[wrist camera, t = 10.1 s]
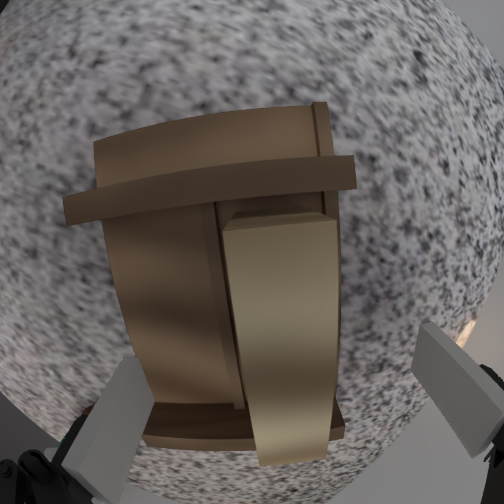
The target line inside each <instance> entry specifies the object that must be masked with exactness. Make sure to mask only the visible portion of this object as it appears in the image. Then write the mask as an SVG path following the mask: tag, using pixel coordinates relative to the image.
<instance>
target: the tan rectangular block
mask: <svg viewBox="0 0 504 504" xmlns="http://www.w3.org/2000/svg"><path fill="white" fill-rule="evenodd" d="M222 232H223V240H224V248H225V255H226V263H227V270H228V277H229V284H230V292H231V299H232V305H233V312H234V319H235V326H236V332H237V339H238V345H239V351H240V358H241V364H242V370H243V376H244V382H245V388H246V394H247V400H248V405H249V411H250V417H251V422H252V428H253V433H254V438H255V444H256V449H257V454H258V460H259V465H260V466H273V465H284V464H292V463H300V462H307V461H314V460H320V459H325V458H326V455H327V448H328V441H329V433H330V426H331V417H332V408H333V398H334V386H335V373H336V358H337V337H338V243H337V222H336V220H335V219H333V218H330V217H328V216H326V215H324V214H321V213H319V212H317V211H314V210H312V209H310V208H307V207H305V206H290V207H279V208H269V209H259V210H250V211H240V212H235V213H234V215H233V216H232V218H231V219H230V221H229V222H228V224H227V225H226V227H225V228H224V230H223V231H222Z"/></svg>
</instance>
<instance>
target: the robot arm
mask: <svg viewBox="0 0 504 504" xmlns="http://www.w3.org/2000/svg"><path fill="white" fill-rule="evenodd" d="M7 1H8V0H0V12H1V11H2V9H3V8H4V6H5V5H6V3H7ZM410 370H411V371H412V373H413V374H414V375H415V377H416V378H417V379H418V381H419V382H420V383H421V385H422V386H423V388H424V389H425V390H426V392H427V393H428V394H429V396H430V397H431V399H432V400H433V401H434V403H435V404H436V406H437V407H438V408H439V410H440V411H441V413H442V414H443V416H444V417H445V419H446V420H447V422H448V423H449V425H450V426H451V427H452V429H453V430H454V432H455V433H456V435H457V437H458V438H459V440H460V441H461V443H462V444H463V446H464V447H465V449H466V450H467V452H468V454H469V455H470V457H471V458H472V459H473V458H474V457H476V456H478V455H479V454H480V453H482V452H484V451H485V450H486V449H487V447H488V446H489V444H490V443H491V442H492V443H493V444H494V447H493V448H492V449H491V450H490V452H489V453H488V454H487V456H486V457H485V458H484V462H485V461H486V460H487V459H488V458H489V457H490V455H491V457H490V460H489V462H490V464H489V470H488V475H487V479H486V484H485V488H484V492H483V496H482V500H481V504H504V382H503V380H502V379H501V378H500V377H498V375H497V374H496V373H495V372H494V371H493V370H492V369H491V368H489V367H487V366H485V365H483V364H481V365H478V364H477V363H475V361H474V360H473V359H472V358H471V357H470V356H469V355H468V354H467V353H466V352H464V351H463V350H462V349H461V348H460V347H459V346H458V345H457V344H456V343H455V342H454V341H453V340H452V339H451V338H450V337H448V336H447V335H446V334H445V333H444V332H443V331H442V330H441V329H440V328H439V327H437V326H436V325H435V324H434V323H433V322H429V323H425V324H422V325H420V328H419V333H418V338H417V343H416V348H415V352H414V356H413V361H412V365H411V369H410ZM154 402H155V398H154V396H153V394H152V391H151V389H150V387H149V384H148V382H147V379H146V377H145V374H144V371H143V369H142V366H141V364H140V361H139V358H130V357H124V358H123V360H122V362H121V363H120V365H119V366H118V368H117V369H116V371H115V373H114V374H113V376H112V378H111V379H110V381H109V382H108V384H107V386H106V387H105V389H104V391H103V392H102V394H101V395H100V397H99V399H98V400H97V402H96V404H95V406H94V407H93V409H92V411H91V412H90V414H89V415H86V414H82V415H81V416H80V417H79V418H77V419H76V420H75V421H74V423H73V424H72V426H71V428H70V429H69V430H70V431H68V433H67V434H66V436H65V437H66V438H64V439H63V441H62V443H61V445H60V446H59V448H58V450H57V451H56V453H55V455H54V457H53V458H52V460H51V462H50V461H49V460H48V459H47V458H46V457H45V456H44V455H43V454H42V453H41V452H40V451H38V450H28V451H26V452H24V453H23V454H22V455H21V456H20V458H19V460H18V466H17V465H16V463H14V462H13V461H12V460H9V459H5V460H2V461H0V504H24V503H25V504H93V503H92V501H91V499H92V497H95V498H96V499H97V500H98V501H99V502H101V503H104V504H118V503H119V500H120V497H121V494H122V491H123V488H124V485H125V482H126V479H127V476H128V473H129V470H130V468H131V465H132V462H133V459H134V456H135V453H136V451H137V448H138V445H139V442H140V440H141V437H142V434H143V431H144V429H145V426H146V423H147V421H148V418H149V415H150V413H151V410H152V407H153V405H154Z"/></svg>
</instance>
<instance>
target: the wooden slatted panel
mask: <svg viewBox="0 0 504 504" xmlns="http://www.w3.org/2000/svg"><path fill="white" fill-rule="evenodd" d="M93 143H94V159H95V172H96V182H97V188H96V189H92V190H88V191H85V192H81V193H77V194H73V195H70V196H66V197H63V205H64V213H65V219H66V226H71V225H76V224H80V223H85V222H90V221H96V220H102V226H103V232H104V238H105V243H106V248H107V253H108V258H109V263H110V268H111V272H112V276H113V280H114V285H115V289H116V293H117V296H118V300H119V304H120V307H121V311H122V314H123V318H124V321H125V325H126V328H127V331H128V334H129V337H130V340H131V343H132V346H133V349H134V352H135V355H136V358H139V361H140V364H141V366H142V369H143V371H144V374H145V377H146V379H147V382H148V384H149V387H150V389H151V391H152V394H153V396H154V398H155V402H154V405H153V407H152V410H151V413H150V415H149V418H148V421H147V423H146V426H145V429H144V431H143V434H142V438H143V440H144V441H145V443H146V445H147V446H150V447H158V448H168V449H179V450H195V451H250V450H257V449H256V444H255V438H254V433H253V428H252V422H251V417H250V411H249V405H248V400H247V394H246V388H245V382H244V376H243V370H242V364H241V358H240V351H239V345H238V339H237V332H236V326H235V319H234V312H233V305H232V299H231V292H230V284H229V277H228V270H227V263H226V255H225V248H224V240H223V232H222V231H223V230H224V228H225V227H226V225H227V224H228V222H229V221H230V219H231V218H232V216H233V215H234V213H235V212H240V211H250V210H259V209H269V208H279V207H290V206H305V207H307V208H310V209H312V210H314V211H317V212H319V213H321V214H324V215H326V216H328V217H330V218H333V219H335V220H336V222H337V243H338V337H337V358H336V373H335V386H334V398H333V408H332V417H331V426H330V433H329V441H333V440H338V439H343V437H344V431H345V423H344V420H343V417H342V414H341V412H340V409H339V406H338V403H337V400H336V389H337V378H338V364H339V348H340V325H341V246H340V223H339V206H338V192H337V190H351V189H357V185H356V173H355V163H354V155H349V156H334V151H333V142H332V134H331V127H330V120H329V113H328V107H327V102H313V103H312V105H311V106H286V107H270V108H258V109H247V110H238V111H230V112H222V113H215V114H208V115H202V116H196V117H191V118H185V119H180V120H175V121H170V122H165V123H161V124H156V125H152V126H148V127H143V128H139V129H136V130H132V131H128V132H124V133H121V134H117V135H114V136H110V137H107V138H104V139H101V140H97V141H94V142H93Z"/></svg>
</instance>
